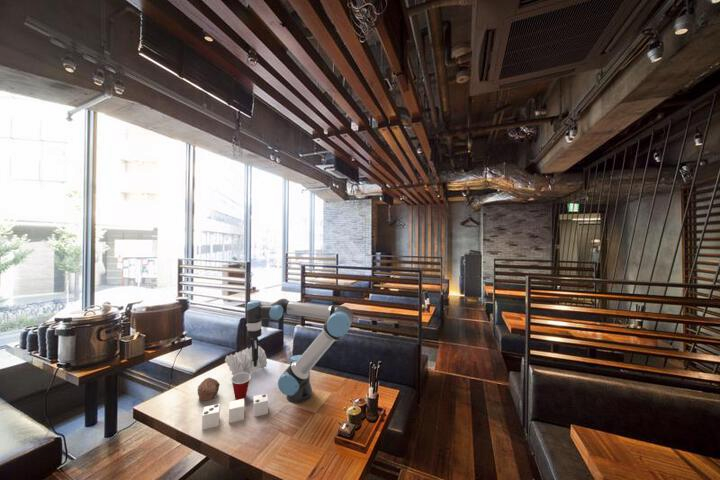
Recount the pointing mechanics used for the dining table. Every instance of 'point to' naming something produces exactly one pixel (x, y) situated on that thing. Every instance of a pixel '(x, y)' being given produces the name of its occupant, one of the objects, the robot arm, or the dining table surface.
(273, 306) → the robot arm
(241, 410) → the blank block
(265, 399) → the block two pips
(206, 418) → the block three pips
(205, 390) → the coconut
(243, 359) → the white ruffled irregular piece
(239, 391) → the plastic cup
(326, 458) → the dining table surface
